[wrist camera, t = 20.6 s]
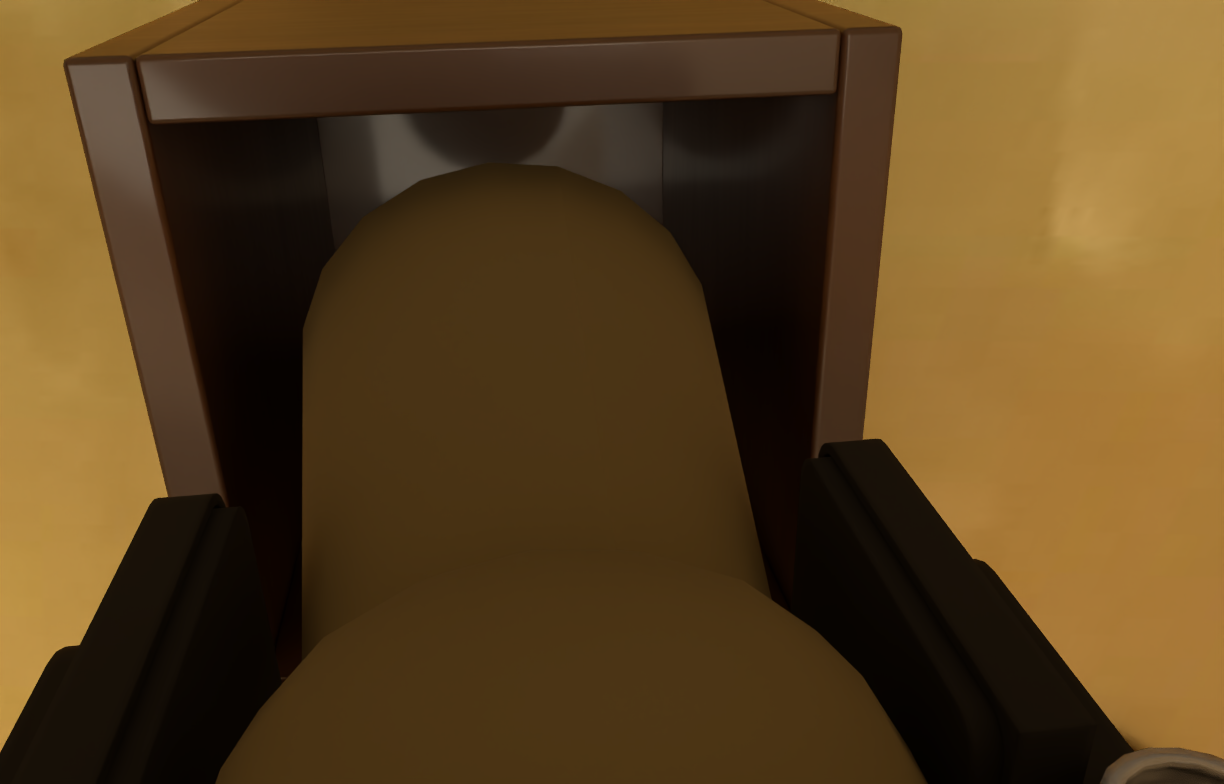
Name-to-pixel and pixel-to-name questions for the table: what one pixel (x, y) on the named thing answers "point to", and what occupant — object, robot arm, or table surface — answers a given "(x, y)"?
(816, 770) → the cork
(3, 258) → the table surface
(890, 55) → the chest
